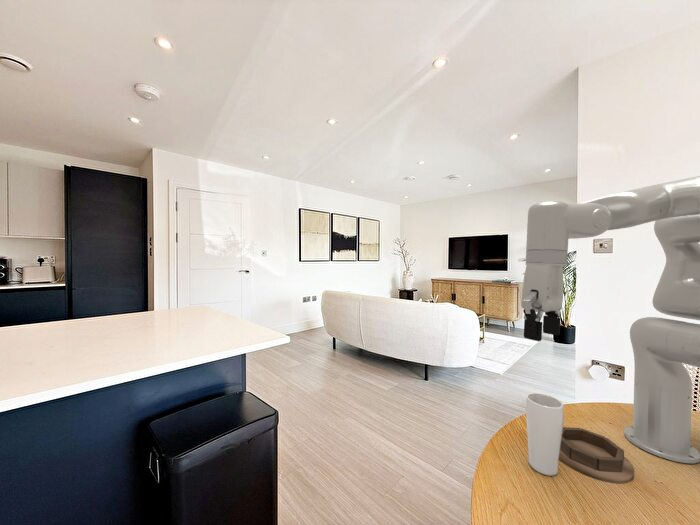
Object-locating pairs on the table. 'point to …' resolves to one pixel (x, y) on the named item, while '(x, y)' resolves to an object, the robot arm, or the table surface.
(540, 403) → the drinking glass
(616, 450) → the glass holder
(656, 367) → the robot arm
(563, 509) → the table surface
